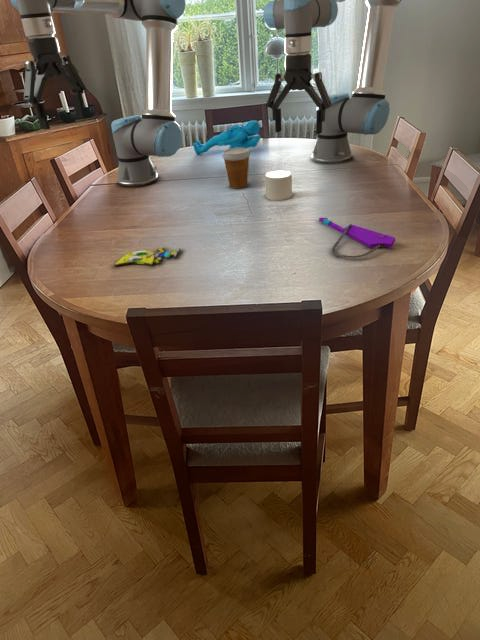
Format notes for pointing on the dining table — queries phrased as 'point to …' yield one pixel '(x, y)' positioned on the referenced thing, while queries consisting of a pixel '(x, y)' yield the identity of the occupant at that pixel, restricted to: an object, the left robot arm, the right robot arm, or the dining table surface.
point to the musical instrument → (361, 237)
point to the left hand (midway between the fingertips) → (64, 123)
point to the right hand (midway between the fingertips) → (298, 132)
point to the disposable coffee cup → (237, 166)
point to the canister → (278, 185)
